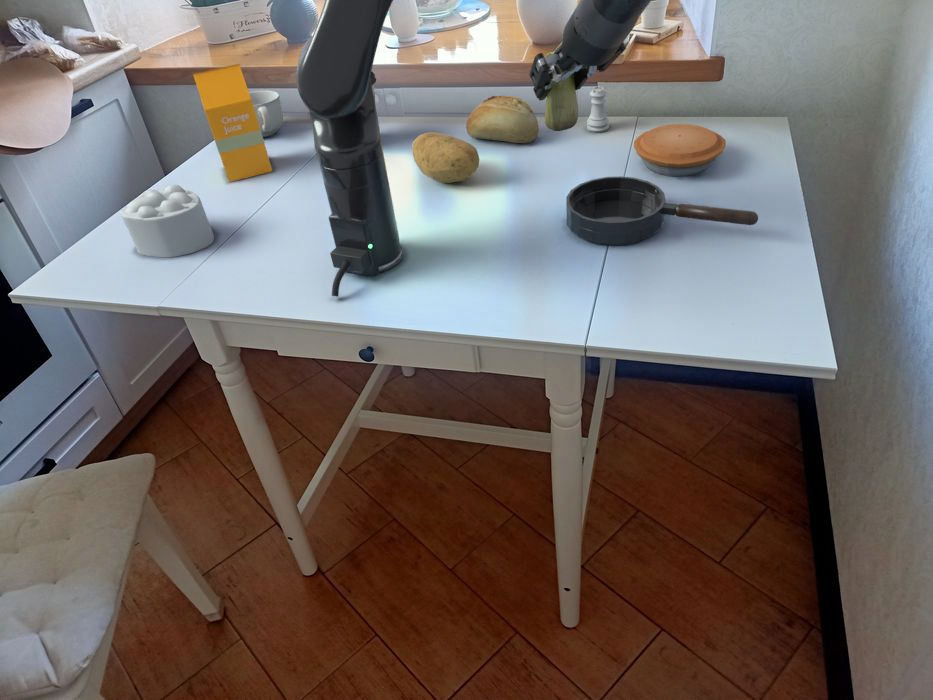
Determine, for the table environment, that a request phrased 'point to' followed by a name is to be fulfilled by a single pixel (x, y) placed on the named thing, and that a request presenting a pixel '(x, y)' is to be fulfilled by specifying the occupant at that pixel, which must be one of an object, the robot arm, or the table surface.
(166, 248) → the lumpy-topped squat cylinder
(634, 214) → the pan
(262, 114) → the teacup
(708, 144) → the pie
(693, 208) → the pan handle
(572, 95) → the fennel bulb
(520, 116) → the bread roll
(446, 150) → the potato
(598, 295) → the table surface
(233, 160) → the orange juice
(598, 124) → the rook chess piece
